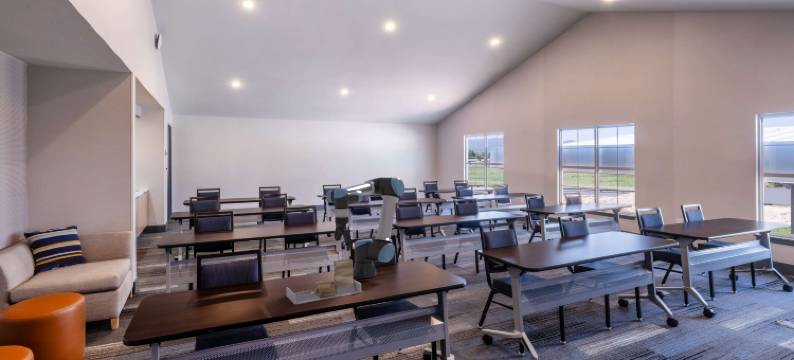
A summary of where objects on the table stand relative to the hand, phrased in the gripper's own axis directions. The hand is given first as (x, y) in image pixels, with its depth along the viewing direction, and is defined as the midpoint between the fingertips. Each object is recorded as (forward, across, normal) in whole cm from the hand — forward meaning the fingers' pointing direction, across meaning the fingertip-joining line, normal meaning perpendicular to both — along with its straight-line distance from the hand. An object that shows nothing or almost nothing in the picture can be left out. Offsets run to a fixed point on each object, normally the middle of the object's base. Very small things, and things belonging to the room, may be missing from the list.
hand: (343, 254), depth 240 cm
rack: (+22, 0, -12) cm, 25 cm away
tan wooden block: (+20, 0, -1) cm, 21 cm away
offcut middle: (+18, +1, -12) cm, 22 cm away
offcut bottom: (+20, 0, -12) cm, 24 cm away
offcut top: (+16, 0, -12) cm, 21 cm away
